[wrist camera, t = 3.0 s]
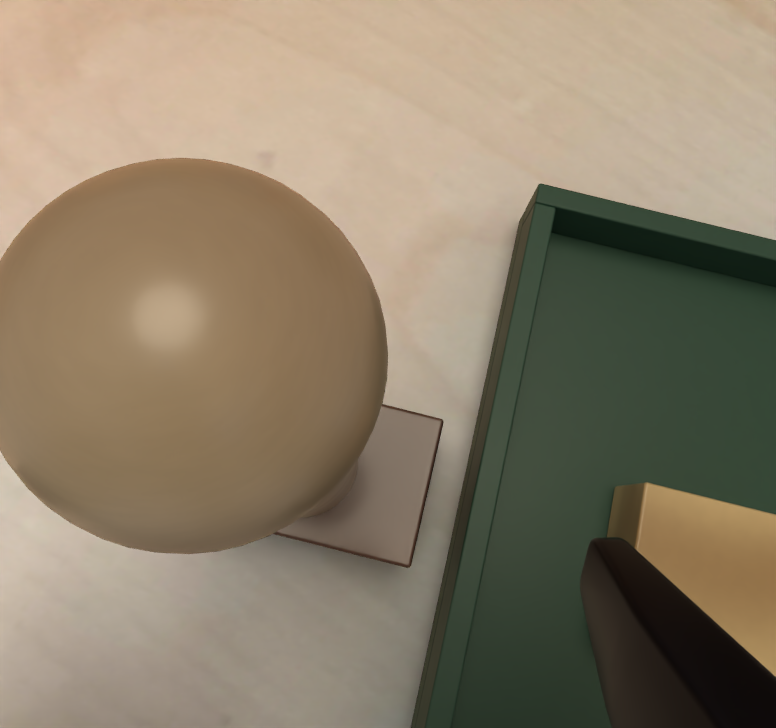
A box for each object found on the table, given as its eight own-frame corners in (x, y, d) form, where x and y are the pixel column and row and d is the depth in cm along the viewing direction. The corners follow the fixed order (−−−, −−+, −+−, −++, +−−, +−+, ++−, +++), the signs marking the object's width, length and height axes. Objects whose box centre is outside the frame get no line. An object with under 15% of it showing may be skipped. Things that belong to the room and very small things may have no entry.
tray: (851, 990, 16) (932, 1068, 14) (380, 867, 16) (383, 923, 14) (895, 311, 20) (962, 284, 18) (519, 219, 20) (539, 182, 18)
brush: (402, 560, 18) (564, 726, 4) (187, 506, 18) (-494, 454, 4) (431, 434, 19) (658, 158, 4) (225, 383, 19) (-208, -50, 4)
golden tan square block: (743, 680, 17) (794, 702, 15) (589, 640, 17) (618, 657, 15) (760, 522, 18) (810, 522, 16) (614, 485, 18) (645, 481, 16)
